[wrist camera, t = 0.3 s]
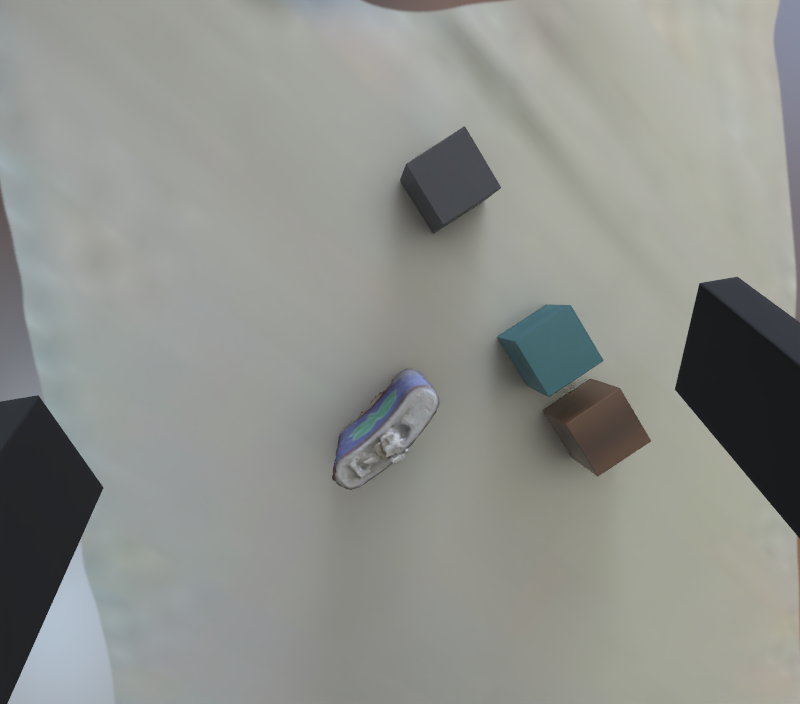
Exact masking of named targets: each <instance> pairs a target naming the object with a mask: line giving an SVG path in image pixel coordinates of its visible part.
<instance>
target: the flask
mask: <svg viewBox="0 0 800 704" xmlns="http://www.w3.org/2000/svg"><path fill="white" fill-rule="evenodd" d="M370 404H371V405H370V407H369V409H368V410H367V411H365V412H361V414H360V417H359V418H358V419H357V420H356V421H353V422H351V423H350V424H349V425H348V426H347V427H345V429H344V430H343V431H341V432H340V435H339V442H338V448H337V451H336V459H335V463H334V467H333V476H332V479H333V480H334V481H336V483H337V484H338V485H340V486H342V487H344V488H346V489H351V490H352V489H355V488H358V487H360V486H362V485H364V484H365V483H367V482H368V481H369V480H371V479H372V478H374V477H375V476H376V475H378V474H379V473H381V472H382V471H384V470H385V469H386V468H387V467H389V466H390V465H391V464H393V463H398V462H400V461H402V460H403V459H404V455H402V454H403V453H404V452H405V453H407V452H408V448H409V446H411V445H412V444H413V442H414V441H415V439H416V438H417V437H418V436H419V435H420V433H421V432H422V431H423V430H424V428H425V427H426V426H427V424H428V423H429V422H430V420H431V419H432V417H433V416H434V414H435V413H436V410H437V408H438V406H439V397H438V395H437V393H436V391H435V390H434V389H433V388H432V386H430V384H429V383H428V382H427V381H426V379H425V378H424V377H423V375H422V374H421V373H420V372H419V371H417V370H416V369H405V370H404V371H402V372H401V373H400V374H399V375H397V376H396V377H394V379H392V383H391V385H390V386H389V387H388V388H386V390H384V391H383V392H380V393H379V395H378V396H375V398H374V400H372V402H371V403H370Z"/></svg>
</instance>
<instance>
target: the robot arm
mask: <svg viewBox="0 0 800 704" xmlns="http://www.w3.org/2000/svg"><path fill="white" fill-rule="evenodd" d="M675 390H676V391H677V392H678V394H679V395H680V396H681V397H682V398H683V400H684V401H685V402H686V403H687V404H688V406H689V407H690V408H691V409H692V410H693V412H694V413H695V414H696V415H697V416H698V418H699V419H700V420H701V421H702V422H703V423H704V425H705V426H706V427H707V428H708V429H709V431H710V432H711V433H712V434H713V435H714V437H715V438H716V439H717V440H718V441H719V443H720V444H721V445H722V446H723V447H724V449H725V450H726V451H727V452H728V453H729V455H730V456H731V457H732V458H733V459H734V460H735V462H736V463H737V464H738V465H739V466H740V468H741V469H742V470H743V471H744V472H745V474H746V475H747V476H748V477H749V478H750V480H751V481H752V482H753V483H754V484H755V486H756V487H757V488H758V489H759V490H760V492H761V493H762V494H763V495H764V496H765V497H766V499H767V500H768V501H769V502H770V503H771V505H772V506H773V507H774V508H775V509H776V511H777V512H778V513H779V514H780V515H781V517H782V518H783V519H784V520H785V521H786V523H787V524H788V525H789V526H790V527H791V529H792V530H793V531H794V532H795V533H796V534H797V536H798V537H799V538H800V323H799V322H798V321H797V320H796V319H794V318H793V317H791V316H790V315H789V314H787V313H786V312H785V311H783V310H782V309H781V308H779V307H778V306H776V305H775V304H774V303H772V302H771V301H770V300H768V299H767V298H766V297H764V296H763V295H761V294H760V293H759V292H757V291H756V290H755V289H753V288H752V287H751V286H749V285H748V284H746V283H745V282H744V281H742V280H741V279H740V278H738V277H734V278H728V279H722V280H716V281H710V282H704V283H699V288H698V292H697V296H696V301H695V305H694V309H693V314H692V318H691V322H690V327H689V331H688V335H687V340H686V344H685V348H684V353H683V357H682V361H681V366H680V370H679V374H678V379H677V383H676V387H675ZM102 490H103V486H102V485H101V484H100V482H99V481H98V479H97V478H96V477H95V475H94V474H93V472H92V471H91V469H90V468H89V467H88V465H87V464H86V462H85V461H84V459H83V458H82V457H81V455H80V454H79V452H78V451H77V450H76V448H75V447H74V445H73V444H72V442H71V441H70V440H69V438H68V437H67V435H66V434H65V432H64V431H63V430H62V428H61V427H60V425H59V424H58V423H57V421H56V420H55V418H54V417H53V415H52V414H51V413H50V411H49V410H48V408H47V407H46V405H45V404H44V403H43V401H42V400H41V398H40V397H39V396H32V397H27V398H20V399H14V400H9V401H2V402H0V704H7V703H8V701H9V699H10V696H11V694H12V692H13V690H14V687H15V685H16V683H17V681H18V678H19V676H20V674H21V672H22V669H23V667H24V665H25V663H26V660H27V658H28V656H29V654H30V651H31V649H32V647H33V645H34V642H35V640H36V638H37V636H38V633H39V631H40V629H41V627H42V624H43V622H44V620H45V617H46V615H47V613H48V611H49V609H50V606H51V604H52V602H53V600H54V597H55V595H56V593H57V591H58V588H59V586H60V584H61V582H62V579H63V577H64V575H65V573H66V570H67V568H68V566H69V563H70V561H71V559H72V557H73V555H74V552H75V550H76V548H77V546H78V543H79V541H80V539H81V537H82V535H83V532H84V530H85V528H86V526H87V523H88V521H89V519H90V517H91V514H92V512H93V510H94V508H95V505H96V503H97V501H98V499H99V496H100V494H101V492H102Z"/></svg>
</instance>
